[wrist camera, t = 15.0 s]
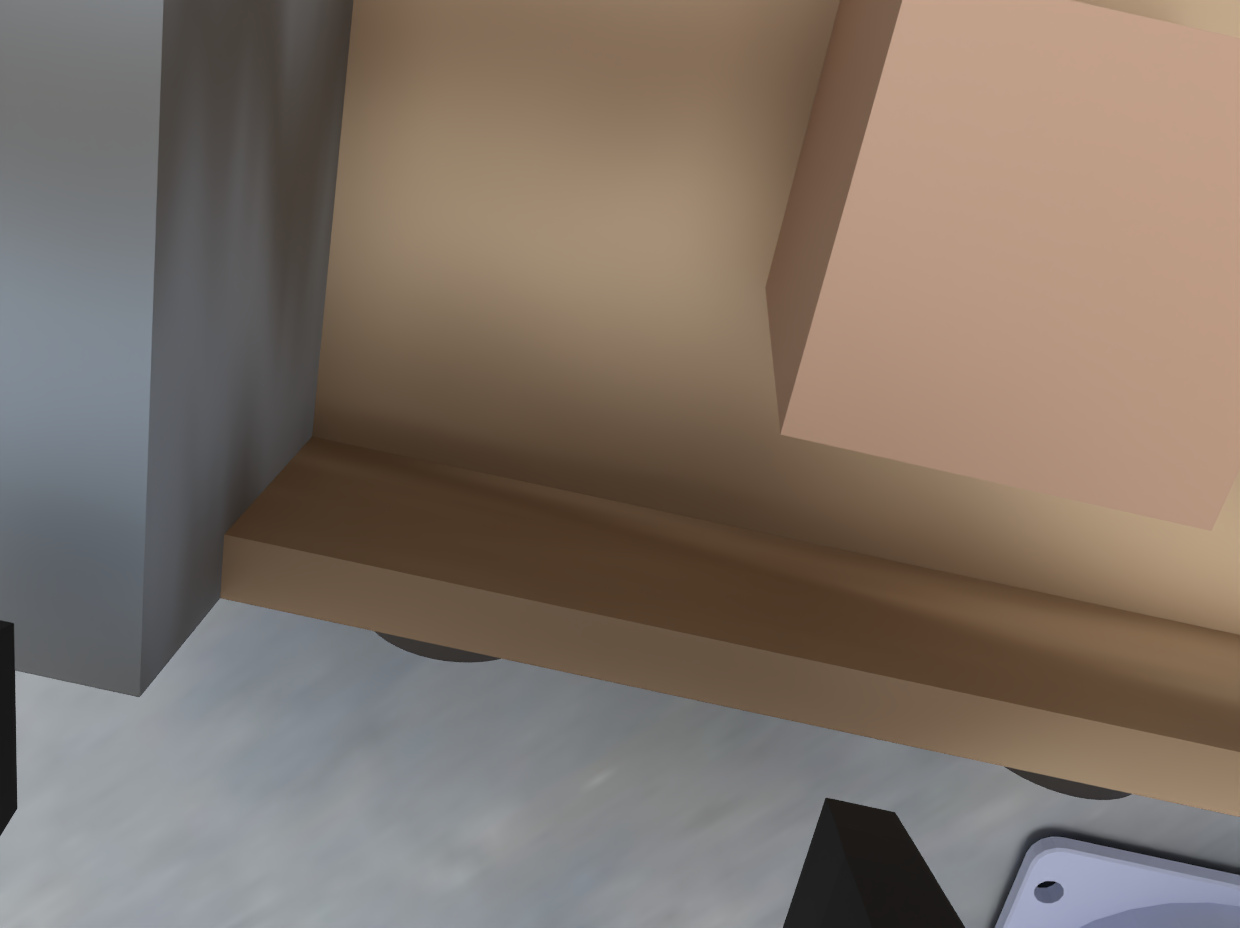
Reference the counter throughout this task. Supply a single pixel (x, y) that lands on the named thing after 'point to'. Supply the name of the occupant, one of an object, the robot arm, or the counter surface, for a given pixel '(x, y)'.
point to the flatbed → (526, 386)
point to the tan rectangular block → (1020, 252)
